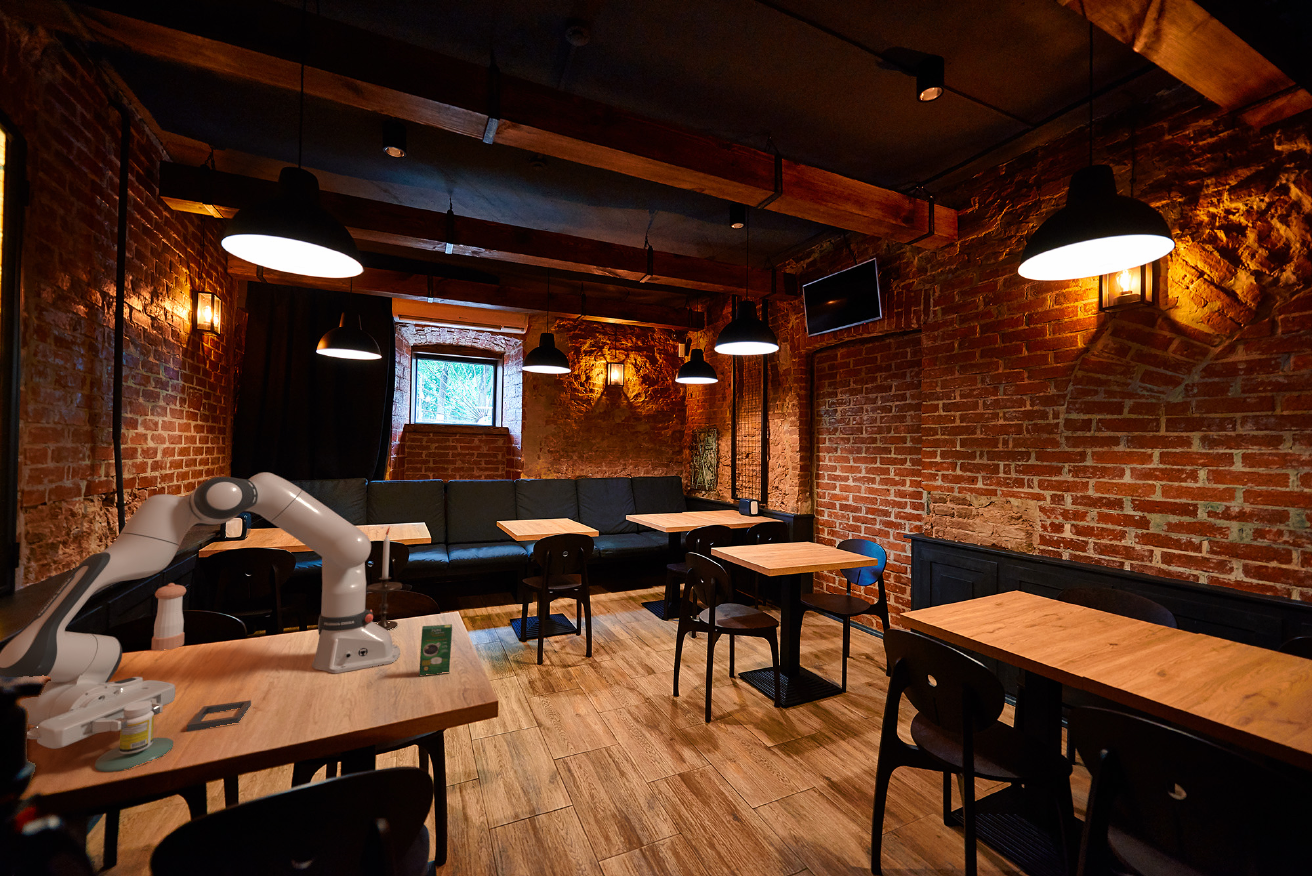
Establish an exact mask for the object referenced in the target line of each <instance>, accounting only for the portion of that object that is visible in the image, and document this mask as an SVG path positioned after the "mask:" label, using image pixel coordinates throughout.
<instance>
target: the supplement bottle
mask: <svg viewBox="0 0 1312 876" xmlns="http://www.w3.org/2000/svg"><path fill="white" fill-rule="evenodd" d="M151 710H152V702H151V701H141V702H136V703H133V704H130V705H128V706H126V707H125V708H124V713H123V715H124V717H123V718H126V719H127V723H126V724H127V727H126V728H123V729H121V730H119V746H120V748H119V752H120V753H121V754H131V753H136V752H139V751H142V750H144V749H146V748H148V747H149V746H151V744H152V742H153V738H154V723H155V722H154V721H155V715H154V712H153V711H151Z"/></svg>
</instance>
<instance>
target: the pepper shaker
mask: <svg viewBox="0 0 1312 876" xmlns="http://www.w3.org/2000/svg"><path fill="white" fill-rule="evenodd" d="M186 592H187V588H186V587H185V586H184V585H180V584H175V583H174V582H170V583H168V584H167V585H165V586H162V587H159V588H158V589H157V590H156V591H155V593H154V596H155V597H156V599H158V600H157V601H158V603H157V613H156V617H155V621H154V626H153V628H154V629H153V636H152V638H151V647H150V649H151V650H152V651H154V652H156V650H162V651H165V650H164V649H169V650H173V649H177V648H180V647H182V646H184V644H185V632H184V623H185V620H184V614H183V613H184V612H183V596H184V595H185V594H186Z"/></svg>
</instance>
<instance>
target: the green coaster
mask: <svg viewBox="0 0 1312 876" xmlns="http://www.w3.org/2000/svg"><path fill="white" fill-rule="evenodd" d="M172 747H173V748H174V740H172V739H171V738H169V737H161V736H160V737H153V742H152V744H151V746H149V747H148V748H146V749H144V750H142V751H139V752H136V753H131V754H121V753H120V752H119V748H120V745H119V746H117V747H115V748H113V749H111V750H108V751H107V752H106V751H105V753H103V754H101V755H100V756H99V757H98V758H97V759H96V761H95V764H94V768H95V770H97V771H99V772H103V773H114V771H116V772H122V771H125V770H124V769H128V770H130V769H129V768H132V767H134V766H136V765H140V764H142V763H145V762H147V761H152V760H153V759H157V758H159V757H161V756H162V757H164V756H165V755H164V754H166V753H167V752H168V751H169V750H170V751H172V749H173V748H172ZM170 751H169V752H170ZM169 752H168V753H169ZM168 753H167V754H168ZM167 754H166V755H167ZM163 755H164V756H163ZM162 757H161V758H162ZM159 759H160V758H159ZM157 760H158V759H157ZM132 769H133V768H132Z"/></svg>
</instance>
